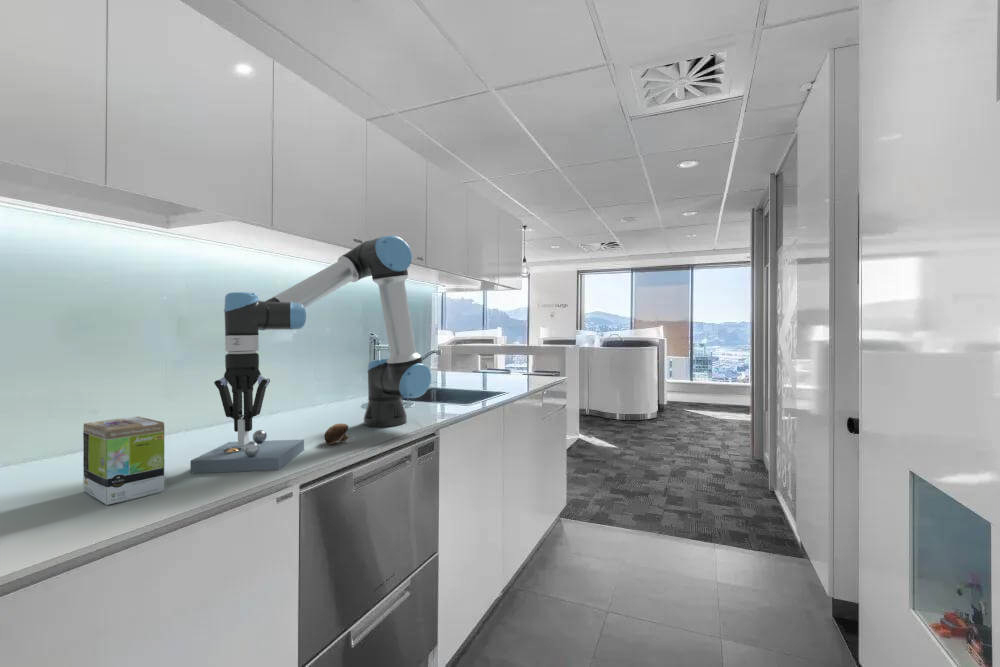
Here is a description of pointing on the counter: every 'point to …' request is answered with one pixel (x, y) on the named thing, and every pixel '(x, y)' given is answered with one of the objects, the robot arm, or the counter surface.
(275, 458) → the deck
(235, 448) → the copper ball
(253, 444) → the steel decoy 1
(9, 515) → the counter surface
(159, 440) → the tea box
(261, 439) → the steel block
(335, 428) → the mushroom
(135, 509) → the counter surface
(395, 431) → the counter surface
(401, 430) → the counter surface
